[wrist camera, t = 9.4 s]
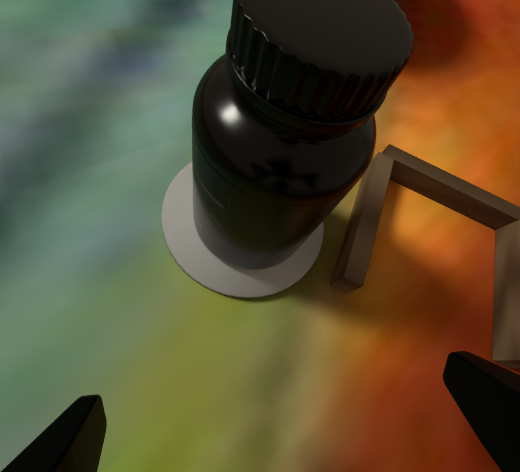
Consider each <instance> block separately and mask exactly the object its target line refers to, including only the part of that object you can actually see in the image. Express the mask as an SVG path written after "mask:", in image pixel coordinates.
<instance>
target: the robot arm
mask: <svg viewBox="0 0 520 472" xmlns="http://www.w3.org/2000/svg"><path fill="white" fill-rule="evenodd" d="M443 380H444V383H445V385H446V387H447V389H448V390H449V392H450V394H451V395H452V397H453V398H454V400H455V402H456V403H457V405H458V406H459V408H460V410H461V411H462V413H463V415H464V416H465V418H466V419H467V421H468V423H469V424H470V426H471V427H472V429H473V431H474V432H475V434H476V435H477V437H478V438H479V440H480V442H481V443H482V445H483V446H484V447H485V449H486V450H487V452H488V453H489V454H490V456H491V457H492V459H493V460H494V461H495V463H496V464H497V465H498V467H499V468H500V470H501V471H502V472H520V375H518V374H516V373H514V372H512V371H509V370H507V369H505V368H503V367H501V366H498V365H496V364H494V363H492V362H489V361H487V360H485V359H483V358H481V357H478V356H476V355H474V354H472V353H469V352H467V351H457V352H451V353H450V354H449V355H448V358H447V361H446V365H445V369H444V373H443ZM106 425H107V423H106V416H105V412H104V407H103V402H102V398H101V396H100V395H97V394H96V395H87V396H82V397H79V398H78V399H77V400H76V401H75V402H74V403H72V404H71V405H70V406H69V407H68V408H67V409H66V410H65V411H64V412H63V413H62V414H61V415H60V416H59V417H58V418H57V419H56V420H55V421H54V422H53V423H51V424H50V425H49V426H48V427H47V428H46V429H45V430H44V431H43V432H42V433H41V434H40V435H39V436H38V437H37V438H36V439H35V440H34V441H33V442H32V443H30V444H29V445H28V446H27V447H26V448H25V449H24V450H23V451H22V452H21V453H20V454H19V455H18V456H17V457H16V458H15V459H14V460H13V461H12V462H11V463H9V464H8V465H7V466H6V467H5V468H4V469H3V470H2V471H1V472H97V470H98V465H99V461H100V456H101V451H102V447H103V442H104V438H105V433H106Z"/></svg>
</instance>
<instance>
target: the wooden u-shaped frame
mask: <svg viewBox="0 0 520 472" xmlns="http://www.w3.org/2000/svg"><path fill="white" fill-rule="evenodd" d="M389 179H391V180H393V181H395V182H397V183H399V184H401V185H403V186H405V187H407V188H409V189H412V190H414V191H416V192H418V193H420V194H422V195H424V196H426V197H428V198H430V199H432V200H434V201H436V202H439V203H441V204H443V205H445V206H447V207H449V208H451V209H453V210H455V211H457V212H459V213H461V214H464V215H466V216H468V217H470V218H472V219H474V220H476V221H478V222H480V223H482V224H484V225H486V226H488V227H491V228H493V229H495V230H496V244H495V282H494V320H493V358H492V360H493V361H495V362H497V363H499V364H501V365H503V366H505V367H508V368H518V369H520V207H518V206H516V205H514V204H512V203H510V202H508V201H506V200H504V199H502V198H500V197H498V196H496V195H493V194H491V193H489V192H487V191H485V190H483V189H481V188H479V187H477V186H475V185H473V184H471V183H469V182H467V181H465V180H462V179H460V178H458V177H456V176H454V175H452V174H450V173H448V172H446V171H444V170H442V169H440V168H438V167H436V166H434V165H432V164H429V163H427V162H425V161H423V160H421V159H419V158H417V157H415V156H413V155H411V154H409V153H407V152H405V151H403V150H401V149H398V148H396V147H394V146H392V145H390V144H389V145H388V146H387V147H386V149H385V150H384V151H383V152H382V153H380V152H378V154H377V155H376V156H375V157H374V158H373V159H372V160H371V162H370V164H369V166H368V168H367V169H366V171H365V173H364V174H363V177H362V180H361V184H360V187H359V190H358V194H357V197H356V200H355V204H354V207H353V210H352V214H351V217H350V220H349V224H348V227H347V230H346V234H345V237H344V241H343V244H342V247H341V251H340V254H339V257H338V261H337V264H336V267H335V271H334V274H333V277H332V281H331V284H330V285H332V286H334V287H336V288H338V289H340V290H343V291H345V292H347V293H349V292H351V291H353V290H356V289H358V288H360V287H362V286H363V285H364V281H365V277H366V273H367V268H368V264H369V260H370V256H371V252H372V248H373V244H374V240H375V236H376V232H377V227H378V223H379V219H380V215H381V211H382V207H383V203H384V199H385V195H386V190H387V186H388V182H389Z"/></svg>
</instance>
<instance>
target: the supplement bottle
mask: <svg viewBox="0 0 520 472" xmlns="http://www.w3.org/2000/svg"><path fill="white" fill-rule="evenodd" d="M413 39H414V36H413V34H412V32H411V25H410V23H409V22H408V20H407V17H406V14H405V13H404V12H403V11H402V10H401V9H400V7H399V5H398V3H396V2H395V1H394V0H233V7H232V16H231V26H230V30H229V32H228V36H227V41H226V52H225V54H224V55H223V56H221V57H220V58H219V59H217V60H216V61H215V62H214V63H213V64H212V65H211V66H210V68H209V69H208V70H207V71H206V73H205V74H204V76H203V77H202V79H201V80H200V82H199V84H198V87H197V89H196V92H195V96H194V100H193V109H192V172H193V217H194V223H195V228H196V231H197V233H198V235H199V237H200V239H201V241H202V242H203V244H204V245H205V247H206V248H207V249H208V250H209V251H210V252H211V253H212V254H213V255H214V256H216V257H217V258H218V259H220V260H222V261H223V262H225V263H227V264H229V265H232V266H235V267H238V268H242V269H251V270H258V269H266V268H270V267H273V266H276V265H278V264H280V263H282V262H284V261H285V260H287V259H288V258H289V257H291V256H292V255H293V254H294V253H295V252H296V251H297V250H298V249H299V248H300V247H301V245H302V244H303V243H304V242H305V241H306V240H307V239H308V237H309V236H310V235H311V234H312V233H313V232H314V231H315V230H316V228H317V227H318V226H319V225H320V224H321V223H322V222H323V221H324V219H325V218H326V217H327V216H328V215H329V214H330V213H331V211H332V210H333V209H334V208H335V207H336V206H337V205H338V204H339V202H340V201H341V200H342V199H343V198H344V197H345V196H346V195H347V193H348V192H349V191H350V190H351V189H352V188H353V187H354V185H355V184H356V183H357V182H358V181H359V179H360V178H361V177H362V175H363V174H364V173H365V171H366V169H367V168H368V166H369V164H370V162H371V160H372V157H373V154H374V150H375V144H376V121H375V116H374V114H375V113H376V112H377V110H378V109H379V108H380V106H381V105H382V103H383V102H384V100H385V97H386V95H387V91H388V90H389V89H390V87H391V86H392V84H393V83H394V81H395V80H396V79H397V77H398V76H399V74H400V73H401V71H402V70H403V69H404V67H405V66H406V64H407V62H408V60H409V58H410V54H411V52H412V50H413V48H414V46H413V43H412V41H413Z"/></svg>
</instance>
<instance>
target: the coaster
mask: <svg viewBox="0 0 520 472" xmlns="http://www.w3.org/2000/svg"><path fill="white" fill-rule="evenodd" d="M162 226H163V233H164V237H165V240H166V243H167V246H168V248H169V250H170V253H171V255H172V256H173V258H174V259H175V261H176V262H177V264H178V265H179V266H180V267H181V269H182V270H183V271H184V272H185V273H186V274H187V275H188V276H190V277H191V278H192V279H193V280H194V281H196V282H197V283H199V284H200V285H202V286H203V287H205V288H207V289H209V290H211V291H213V292H216V293H219V294H222V295H225V296H230V297H235V298H260V297H265V296H270V295H273V294H276V293H278V292H281V291H283V290H285V289H287V288H289V287H290V286H292V285H293V284H294V283H296V282H297V281H298V280H300V279H301V278H302V277H303V276H304V275H305V274H306V273H307V272H308V271H309V269H310V268H311V267H312V265H313V264H314V262H315V260H316V259H317V257H318V255H319V252H320V249H321V246H322V241H323V233H324V225H323V222H322V223H321V224H320V225H319V226H318V227H317V228H316V230H315V231H314V232H313V233H312V234H311V235H310V236H309V237H308V239H307V240H306V241H305V242H304V243H303V244H302V245H301V247H300V248H299V249H298V250H297V251H296V252H295V253H294V254H293V255H292V256H291V257H289V258H288V259H287V260H285V261H284V262H282V263H280V264H278V265H276V266H273V267H270V268H266V269H258V270H251V269H242V268H238V267H235V266H232V265H229V264H227V263H225V262H223V261H222V260H220V259H218V258H217V257H216V256H214V255H213V254H212V253H211V252H210V251H209V250H208V249H207V248H206V247H205V245H204V244H203V242H202V241H201V239H200V237H199V235H198V233H197V231H196V228H195V223H194V217H193V172H192V162H190V163H189V164H188V165H187V166H185V167H184V168H183V169H182V170H181V171H180V172H179V173H178V174H177V175H176V177H175V178H174V179H173V181H172V182H171V184H170V186H169V188H168V190H167V192H166V195H165V198H164V201H163V207H162Z"/></svg>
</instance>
